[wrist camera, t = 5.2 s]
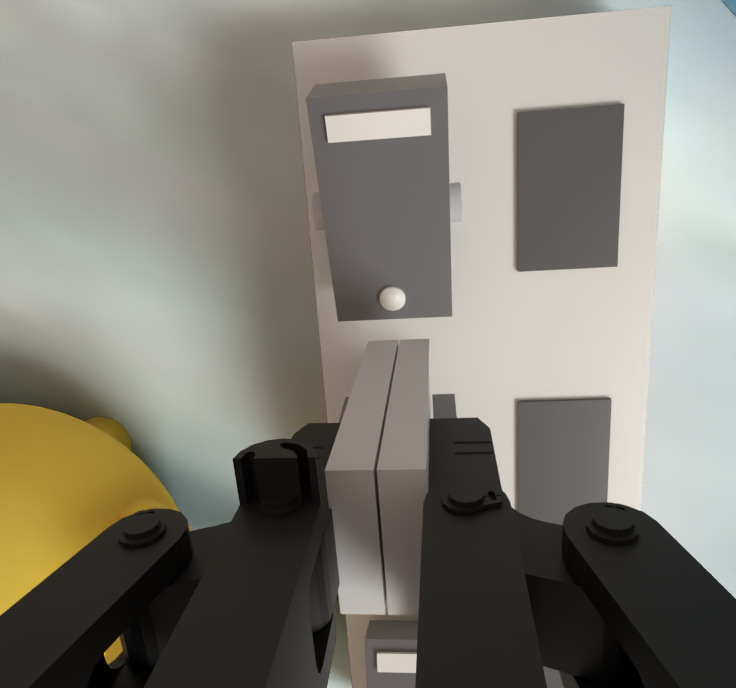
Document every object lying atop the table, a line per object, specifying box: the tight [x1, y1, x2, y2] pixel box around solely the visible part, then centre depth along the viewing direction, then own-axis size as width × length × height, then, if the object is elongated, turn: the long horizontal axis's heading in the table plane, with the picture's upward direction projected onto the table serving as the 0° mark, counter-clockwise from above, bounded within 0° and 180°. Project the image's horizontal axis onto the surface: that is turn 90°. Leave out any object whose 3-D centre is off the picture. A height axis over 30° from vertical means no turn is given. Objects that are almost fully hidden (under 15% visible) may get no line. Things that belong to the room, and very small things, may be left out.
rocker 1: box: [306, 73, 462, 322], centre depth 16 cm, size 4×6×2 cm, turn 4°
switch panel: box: [292, 6, 671, 688], centre depth 21 cm, size 10×26×4 cm, turn 4°
